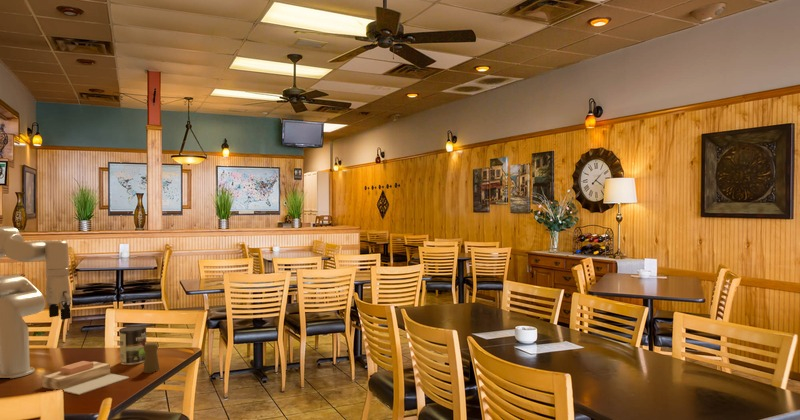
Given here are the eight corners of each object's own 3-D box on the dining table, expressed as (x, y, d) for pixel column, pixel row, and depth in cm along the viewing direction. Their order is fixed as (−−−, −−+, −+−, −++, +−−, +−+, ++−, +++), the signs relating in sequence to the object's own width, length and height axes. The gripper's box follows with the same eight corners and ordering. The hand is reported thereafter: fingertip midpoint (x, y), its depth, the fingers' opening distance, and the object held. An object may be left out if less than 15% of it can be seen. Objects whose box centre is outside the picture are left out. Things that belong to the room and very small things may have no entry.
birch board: (42, 387, 204) (42, 376, 204) (93, 371, 222) (93, 361, 222) (59, 390, 199) (59, 379, 199) (110, 374, 217) (110, 364, 217)
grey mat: (59, 390, 199) (59, 389, 199) (110, 374, 217) (110, 373, 217) (79, 395, 195) (79, 393, 195) (129, 378, 212) (129, 377, 212)
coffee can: (152, 358, 239) (151, 325, 238) (136, 365, 229) (135, 331, 228) (131, 357, 241) (130, 325, 241) (114, 364, 231) (113, 330, 230)
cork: (162, 368, 224) (161, 340, 224) (156, 372, 218) (155, 344, 218) (147, 368, 224) (146, 341, 224) (140, 373, 218) (139, 345, 218)
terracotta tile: (60, 372, 208) (60, 367, 208) (83, 365, 216) (83, 360, 216) (70, 374, 205) (70, 369, 205) (93, 367, 213) (93, 362, 213)
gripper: (37, 273, 215) (39, 317, 215) (57, 275, 204) (59, 321, 205) (58, 271, 221) (60, 313, 221) (78, 273, 211) (80, 318, 211)
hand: (59, 317), depth 213 cm, fingers open, 9 cm apart
